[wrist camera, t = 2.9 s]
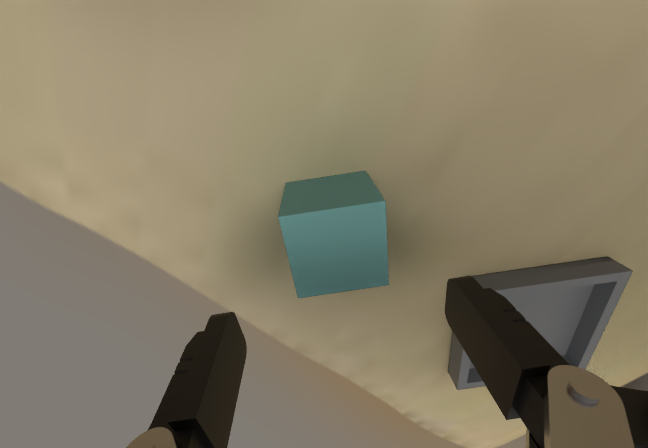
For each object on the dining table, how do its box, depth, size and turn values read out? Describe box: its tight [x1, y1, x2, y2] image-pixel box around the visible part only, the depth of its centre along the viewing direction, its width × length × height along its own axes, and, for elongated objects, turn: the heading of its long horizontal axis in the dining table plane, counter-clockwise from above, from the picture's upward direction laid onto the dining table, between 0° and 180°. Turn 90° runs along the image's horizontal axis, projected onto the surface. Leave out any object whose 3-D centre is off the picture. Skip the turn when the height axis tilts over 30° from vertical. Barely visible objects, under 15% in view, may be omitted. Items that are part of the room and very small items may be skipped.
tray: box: [448, 257, 633, 390], centre depth 23 cm, size 12×12×2 cm
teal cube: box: [278, 171, 389, 298], centre depth 16 cm, size 5×5×5 cm
